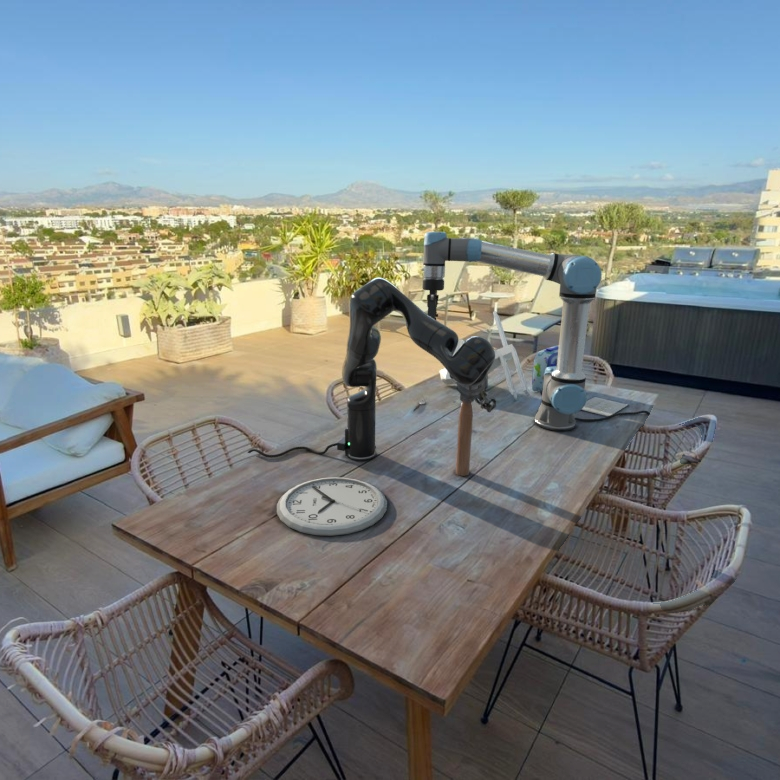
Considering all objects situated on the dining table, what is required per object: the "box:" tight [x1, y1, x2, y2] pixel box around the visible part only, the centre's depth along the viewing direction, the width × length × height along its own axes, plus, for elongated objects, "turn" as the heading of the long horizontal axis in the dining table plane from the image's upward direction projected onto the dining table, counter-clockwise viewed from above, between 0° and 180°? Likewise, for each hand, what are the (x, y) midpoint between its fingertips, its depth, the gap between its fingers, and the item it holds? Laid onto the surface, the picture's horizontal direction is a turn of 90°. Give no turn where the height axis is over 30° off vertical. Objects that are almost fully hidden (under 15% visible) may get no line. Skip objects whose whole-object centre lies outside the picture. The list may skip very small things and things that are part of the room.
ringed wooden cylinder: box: [455, 401, 474, 477], centre depth 159 cm, size 4×4×26 cm
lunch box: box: [531, 344, 559, 393], centre depth 245 cm, size 26×11×21 cm, turn 134°
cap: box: [459, 393, 475, 403], centre depth 156 cm, size 4×4×2 cm
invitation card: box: [580, 396, 629, 417], centre depth 226 cm, size 21×1×15 cm
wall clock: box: [276, 476, 388, 537], centre depth 142 cm, size 30×2×30 cm
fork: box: [413, 396, 428, 412], centre depth 222 cm, size 3×16×2 cm, turn 160°
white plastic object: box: [438, 310, 531, 400], centre depth 245 cm, size 37×45×31 cm
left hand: (472, 395), depth 141 cm, fingers open, 8 cm apart
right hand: (431, 338), depth 187 cm, fingers open, 13 cm apart
